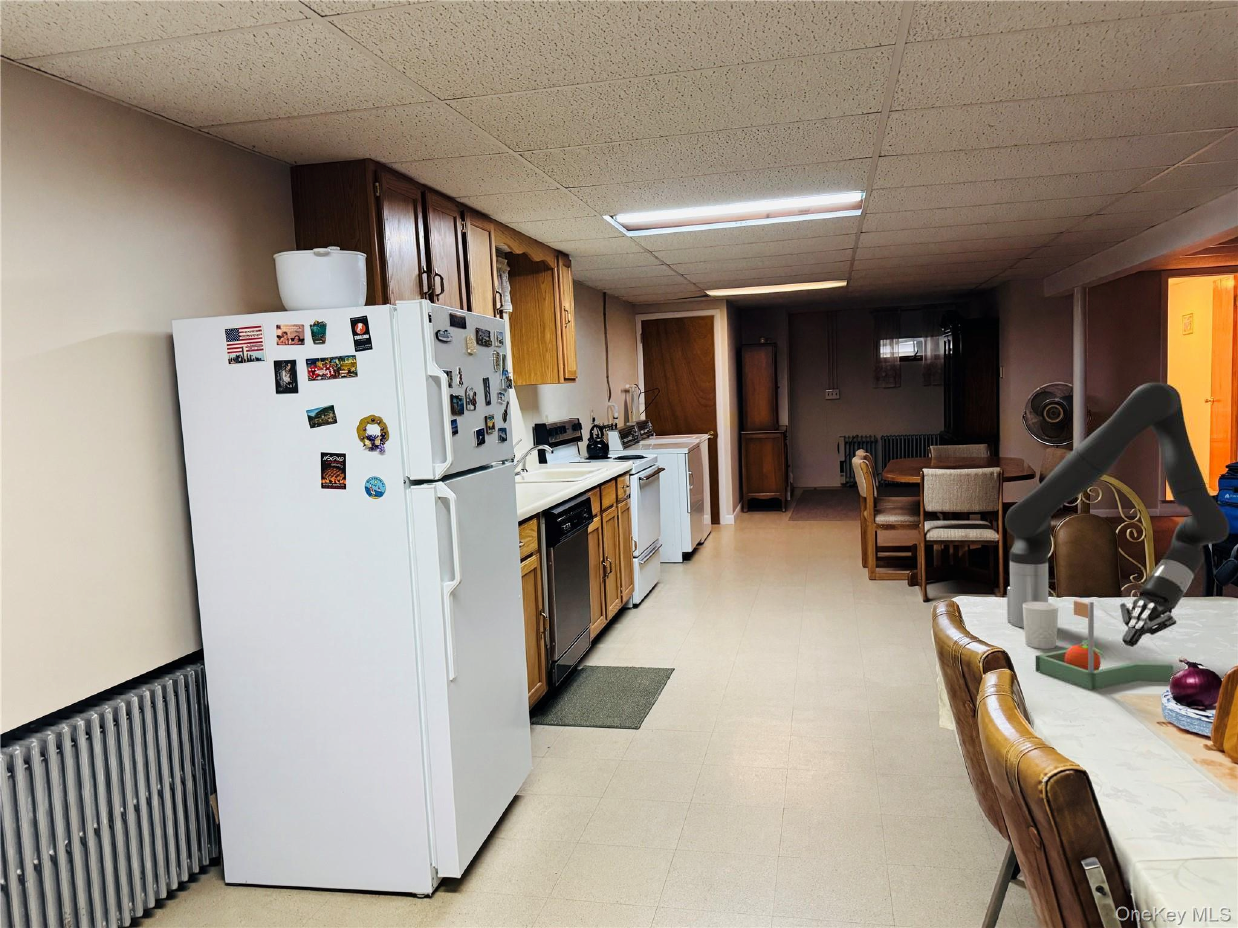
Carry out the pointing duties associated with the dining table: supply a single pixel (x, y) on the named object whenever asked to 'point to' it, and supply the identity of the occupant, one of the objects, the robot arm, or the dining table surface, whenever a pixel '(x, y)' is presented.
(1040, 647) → the white cup
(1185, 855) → the dining table surface
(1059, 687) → the dining table surface
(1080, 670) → the putting stall
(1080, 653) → the clementine
